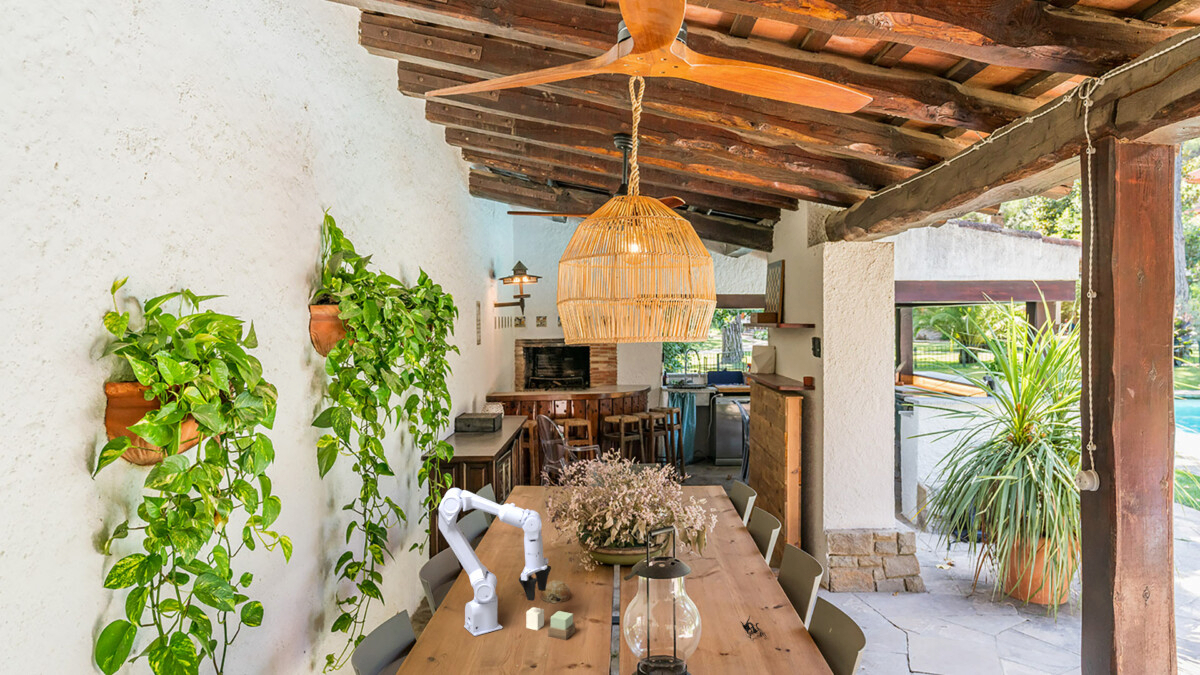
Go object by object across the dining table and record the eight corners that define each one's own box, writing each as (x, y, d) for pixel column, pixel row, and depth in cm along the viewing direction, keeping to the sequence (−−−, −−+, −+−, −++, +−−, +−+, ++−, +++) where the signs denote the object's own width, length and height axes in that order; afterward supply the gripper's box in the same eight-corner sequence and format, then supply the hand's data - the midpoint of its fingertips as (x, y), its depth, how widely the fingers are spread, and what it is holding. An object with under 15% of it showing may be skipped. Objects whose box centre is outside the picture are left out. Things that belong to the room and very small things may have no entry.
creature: (771, 639, 200) (747, 626, 204) (774, 623, 199) (751, 610, 204) (759, 648, 193) (735, 634, 198) (763, 632, 193) (739, 618, 198)
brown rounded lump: (542, 613, 223) (544, 596, 219) (537, 590, 232) (539, 573, 228) (570, 610, 225) (573, 593, 222) (565, 587, 234) (567, 570, 231)
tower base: (565, 641, 195) (565, 631, 195) (548, 637, 198) (548, 627, 198) (574, 633, 201) (575, 623, 201) (557, 629, 203) (557, 619, 203)
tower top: (565, 630, 196) (565, 620, 196) (550, 627, 198) (550, 617, 198) (572, 623, 200) (572, 613, 200) (558, 620, 202) (558, 610, 202)
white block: (537, 630, 202) (537, 614, 202) (526, 628, 203) (526, 611, 203) (543, 625, 205) (544, 609, 205) (532, 623, 207) (532, 607, 207)
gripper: (534, 560, 196) (537, 605, 196) (555, 544, 210) (558, 587, 210) (513, 558, 199) (516, 603, 199) (535, 543, 212) (538, 585, 213)
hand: (536, 595), depth 205 cm, fingers open, 7 cm apart
